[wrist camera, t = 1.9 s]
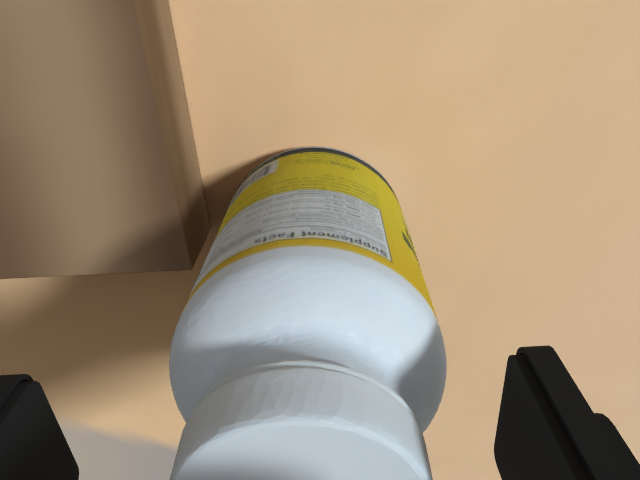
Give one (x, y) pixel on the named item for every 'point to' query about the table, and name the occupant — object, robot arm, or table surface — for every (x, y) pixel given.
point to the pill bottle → (308, 332)
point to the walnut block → (95, 141)
